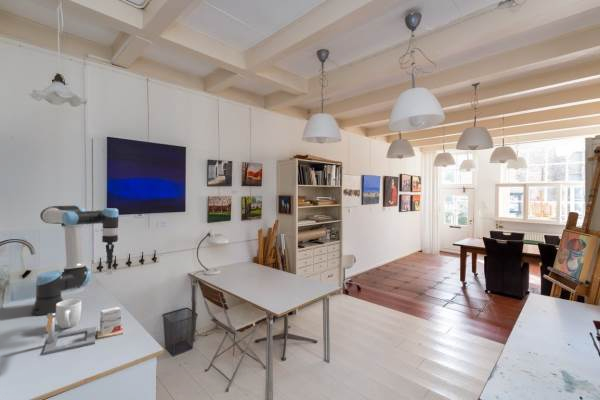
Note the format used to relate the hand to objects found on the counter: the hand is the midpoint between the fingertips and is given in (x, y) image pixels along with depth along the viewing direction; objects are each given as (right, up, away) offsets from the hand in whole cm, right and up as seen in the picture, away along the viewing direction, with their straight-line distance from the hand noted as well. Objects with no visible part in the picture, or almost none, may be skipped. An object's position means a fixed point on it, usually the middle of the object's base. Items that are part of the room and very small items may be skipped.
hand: (109, 271), depth 165 cm
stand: (-3, -29, -23) cm, 37 cm away
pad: (+9, -29, -13) cm, 33 cm away
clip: (-5, -15, -34) cm, 37 cm away
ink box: (+10, -29, -13) cm, 33 cm away
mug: (-17, -28, -9) cm, 34 cm away
